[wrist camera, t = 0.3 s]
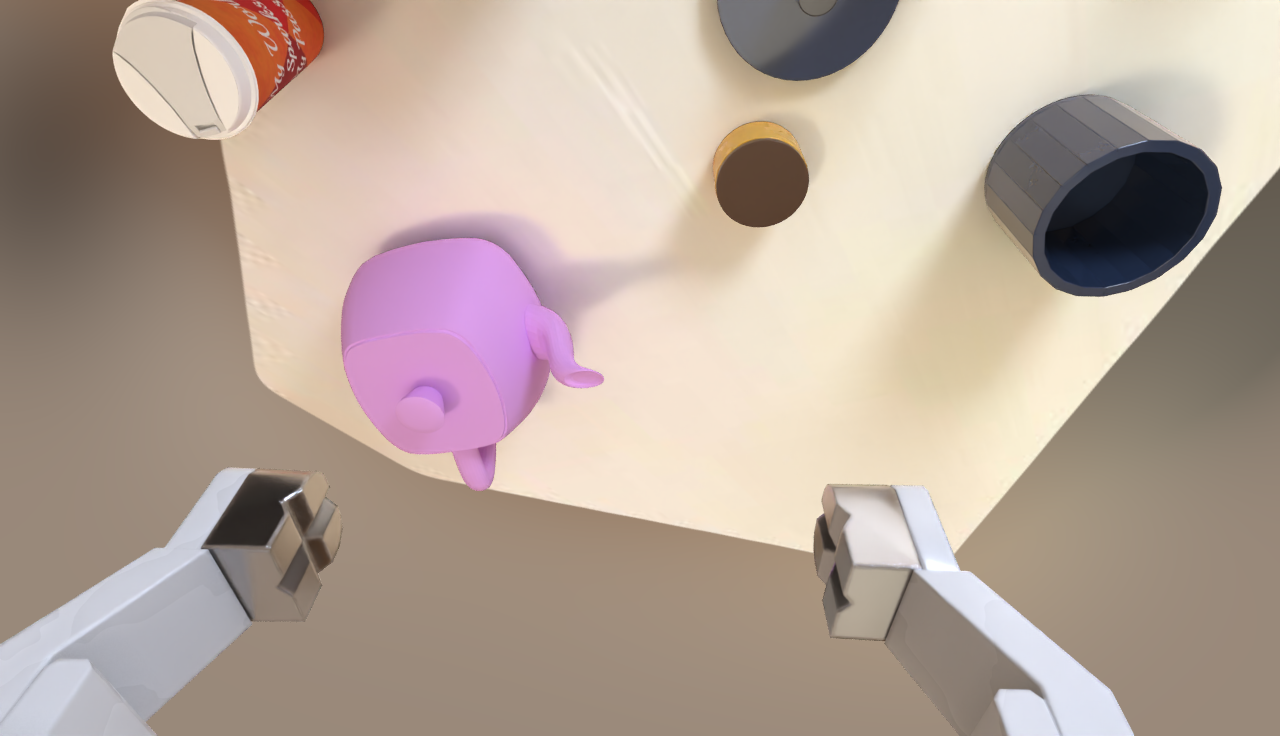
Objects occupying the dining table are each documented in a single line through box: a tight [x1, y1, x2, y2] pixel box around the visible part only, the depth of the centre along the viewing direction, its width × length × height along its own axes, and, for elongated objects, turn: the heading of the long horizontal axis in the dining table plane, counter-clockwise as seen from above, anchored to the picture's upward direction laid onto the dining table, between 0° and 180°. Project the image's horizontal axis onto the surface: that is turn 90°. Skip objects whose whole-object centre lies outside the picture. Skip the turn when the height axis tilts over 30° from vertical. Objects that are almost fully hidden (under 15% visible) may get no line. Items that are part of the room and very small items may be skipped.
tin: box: [713, 122, 809, 227], centre depth 54 cm, size 7×7×4 cm
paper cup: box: [113, 0, 324, 140], centre depth 44 cm, size 8×8×14 cm
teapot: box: [341, 238, 604, 491], centre depth 59 cm, size 23×21×15 cm
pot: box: [985, 95, 1222, 297], centre depth 51 cm, size 12×12×10 cm
